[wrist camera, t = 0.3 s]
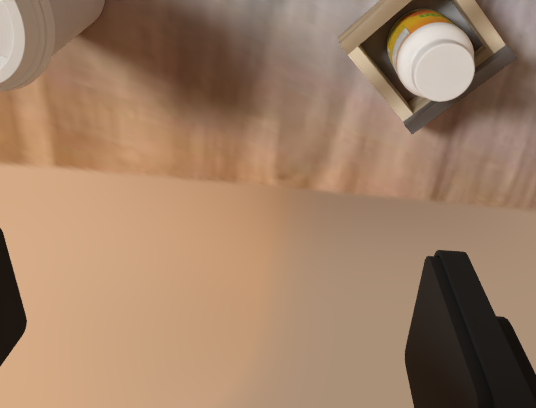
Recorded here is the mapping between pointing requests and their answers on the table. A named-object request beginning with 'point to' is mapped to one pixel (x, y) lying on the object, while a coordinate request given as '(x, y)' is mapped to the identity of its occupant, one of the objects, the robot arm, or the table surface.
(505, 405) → the robot arm
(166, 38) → the table surface
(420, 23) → the supplement bottle
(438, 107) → the can holder
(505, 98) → the table surface
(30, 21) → the coffee cup
